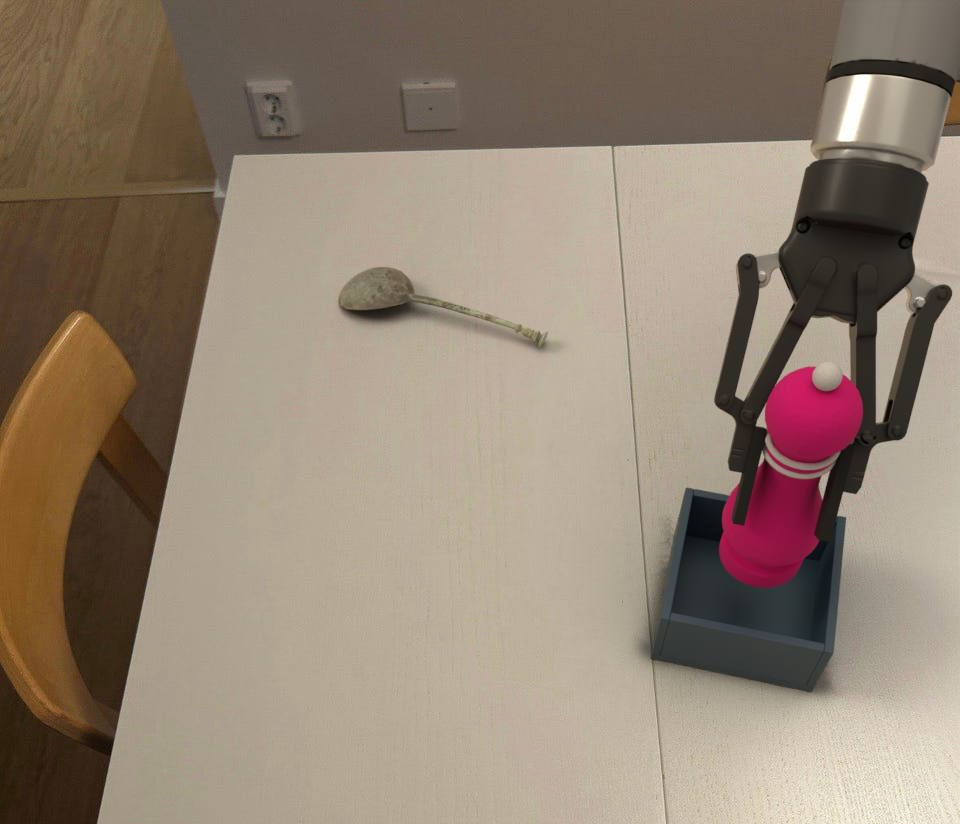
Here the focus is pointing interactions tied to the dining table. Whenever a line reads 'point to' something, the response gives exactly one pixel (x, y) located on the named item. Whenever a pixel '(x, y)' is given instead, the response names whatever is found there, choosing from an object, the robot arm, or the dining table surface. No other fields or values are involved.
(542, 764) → the dining table surface
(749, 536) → the pepper mill
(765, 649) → the box
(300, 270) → the dining table surface
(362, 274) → the soupspoon
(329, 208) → the dining table surface
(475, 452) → the dining table surface
